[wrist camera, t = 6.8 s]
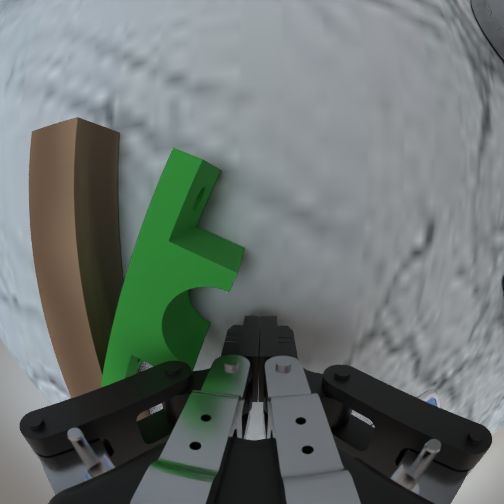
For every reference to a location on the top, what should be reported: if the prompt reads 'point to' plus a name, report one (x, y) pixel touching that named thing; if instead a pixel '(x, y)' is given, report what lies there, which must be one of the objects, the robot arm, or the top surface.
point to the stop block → (77, 244)
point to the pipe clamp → (170, 274)
